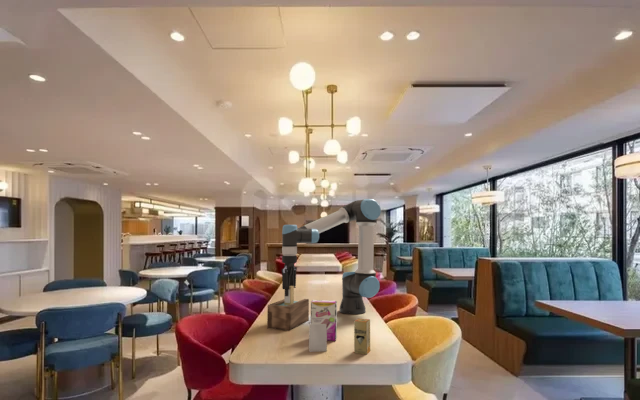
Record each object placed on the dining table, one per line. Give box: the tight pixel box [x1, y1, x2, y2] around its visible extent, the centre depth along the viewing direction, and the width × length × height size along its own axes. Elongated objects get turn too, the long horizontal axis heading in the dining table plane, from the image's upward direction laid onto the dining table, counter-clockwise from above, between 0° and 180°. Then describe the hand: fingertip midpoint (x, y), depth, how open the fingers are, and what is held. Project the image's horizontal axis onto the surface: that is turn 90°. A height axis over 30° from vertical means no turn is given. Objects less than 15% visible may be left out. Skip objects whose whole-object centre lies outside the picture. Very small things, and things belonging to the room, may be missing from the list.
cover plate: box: [279, 286, 298, 306], centre depth 199 cm, size 9×20×11 cm, turn 159°
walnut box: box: [266, 298, 310, 331], centre depth 199 cm, size 12×23×11 cm, turn 159°
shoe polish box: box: [353, 318, 371, 355], centre depth 153 cm, size 5×5×12 cm
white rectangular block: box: [308, 323, 328, 353], centre depth 156 cm, size 4×7×10 cm, turn 96°
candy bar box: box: [310, 299, 338, 342], centre depth 171 cm, size 11×5×16 cm, turn 84°
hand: (289, 301), depth 199 cm, fingers closed on cover plate, 3 cm apart
